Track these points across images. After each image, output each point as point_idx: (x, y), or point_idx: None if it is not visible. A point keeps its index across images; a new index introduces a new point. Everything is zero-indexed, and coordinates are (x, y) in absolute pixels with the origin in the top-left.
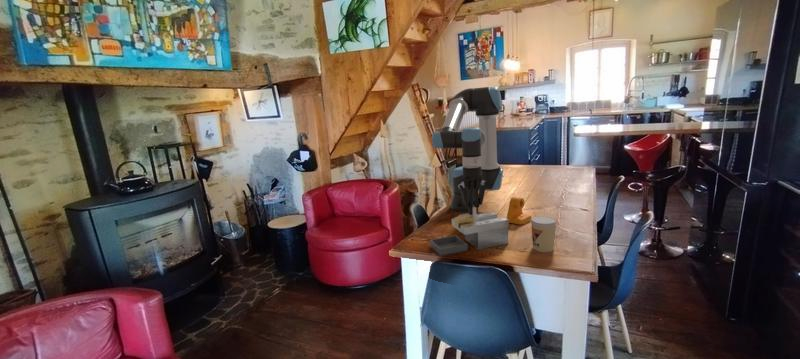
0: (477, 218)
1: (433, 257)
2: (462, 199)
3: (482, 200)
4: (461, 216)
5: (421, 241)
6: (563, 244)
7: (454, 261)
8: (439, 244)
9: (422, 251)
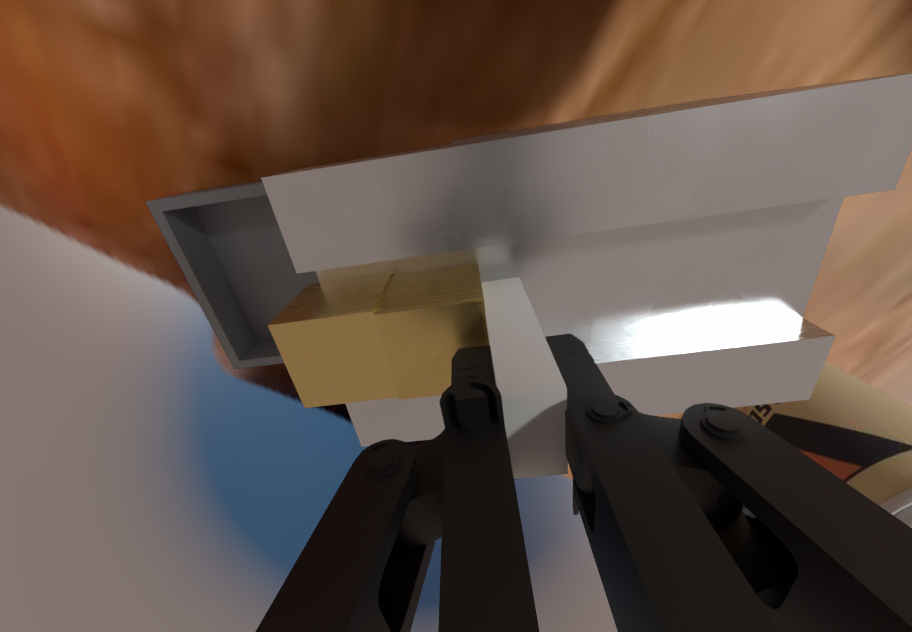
0: (591, 227)
1: (219, 346)
2: (276, 605)
3: (775, 565)
4: (361, 321)
5: (91, 57)
6: (904, 382)
7: (324, 406)
8: (245, 199)
9: (141, 256)
